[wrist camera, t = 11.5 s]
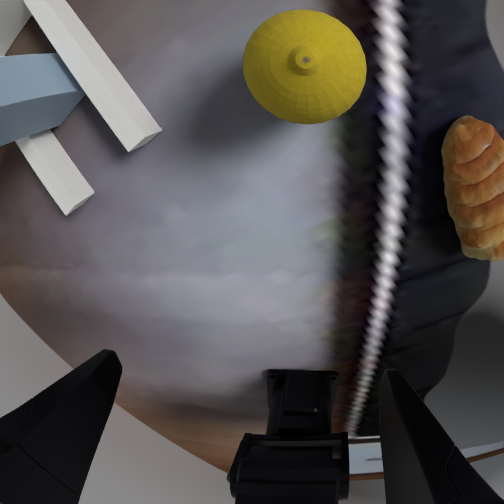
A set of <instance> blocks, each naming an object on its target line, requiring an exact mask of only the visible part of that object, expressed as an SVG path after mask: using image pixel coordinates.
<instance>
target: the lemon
mask: <svg viewBox="0 0 504 504" xmlns="http://www.w3.org/2000/svg"><path fill="white" fill-rule="evenodd" d="M366 71H367V69H366V61H365V55H364V52H363V50H362V47H361V45H360V43H359V41H358V39H357V38H356V37H355V36H354V34H353V33H352V32H351V30H350V29H349V28H347V27H346V26H345V25H344V24H342V23H341V22H340V21H339V20H337V19H335V18H333V17H331V16H329V15H327V14H325V13H322V12H317V11H312V10H290V11H287V12H283V13H279V14H277V15H275V16H273V17H271V18H270V19H268V20H266V21H264V22H263V23H262V24H261V25H260V26H259V27H258V28H257V29H256V30H255V31H254V32H253V34H252V36H251V38H250V39H249V41H248V43H247V44H246V48H245V52H244V57H243V73H244V76H245V80H246V83H247V86H248V88H249V90H250V92H251V93H252V95H253V97H254V98H255V100H256V101H257V102H258V103H259V104H260V105H261V106H262V107H263V108H264V109H266V110H267V111H268V112H270V113H272V114H273V115H275V116H277V117H278V118H280V119H283V120H286V121H289V122H292V123H300V124H315V123H323V122H326V121H329V120H331V119H334V118H336V117H338V116H340V115H341V114H343V113H344V112H345V111H347V110H348V109H350V107H351V106H352V105H353V104H354V103H355V101H356V100H357V99H358V98H359V96H360V94H361V91H362V89H363V87H364V85H365V78H366Z"/></svg>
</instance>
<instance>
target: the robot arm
mask: <svg viewBox="0 0 504 504" xmlns="http://www.w3.org/2000/svg"><path fill="white" fill-rule="evenodd" d="M121 374H122V365H121V363H120V361H119V358H118V356H117V354H116V352H115V351H113V350H108V349H104V350H102V351H100V352H99V353H97V354H96V355H94V356H93V357H91V358H90V359H89V360H87V361H86V362H84V363H83V364H81V365H80V366H78V367H77V368H75V369H74V370H72V371H71V372H70V373H68V374H67V375H65V376H64V377H62V378H61V379H59V380H58V381H56V382H55V383H54V384H52V385H51V386H49V387H48V388H46V389H45V390H43V391H42V392H40V393H39V394H37V395H36V396H34V398H31V399H30V400H29V401H27V402H26V403H24V404H23V405H21V406H20V407H18V408H16V409H15V410H13V411H12V412H10V413H8V414H6V415H5V416H3V417H1V418H0V504H78V502H79V499H80V495H81V492H82V489H83V486H84V484H85V481H86V478H87V475H88V472H89V469H90V466H91V463H92V460H93V458H94V455H95V452H96V449H97V446H98V444H99V441H100V438H101V435H102V433H103V430H104V428H105V425H106V422H107V419H108V417H109V414H110V412H111V409H112V406H113V403H114V399H115V396H116V392H117V388H118V385H119V381H120V378H121ZM338 380H339V374H338V373H337V372H321V371H285V370H269V371H268V372H267V388H268V406H269V417H268V423H267V430H266V435H262V434H252V433H245V435H244V437H243V440H241V443H240V445H239V448H238V450H237V453H236V456H235V458H234V461H233V464H232V466H231V469H230V471H229V473H228V475H227V481H228V482H229V483H230V491H231V495H232V497H233V498H235V504H338V501H347V499H348V492H349V447H348V432H341V433H335V434H331V412H332V409H333V404H334V400H335V395H336V390H337V385H338ZM379 417H380V442H381V450H382V460H383V470H384V481H385V494H386V504H504V500H503V499H502V498H501V497H500V496H498V495H497V494H496V493H495V491H494V490H493V489H492V488H491V487H490V486H489V485H488V484H487V483H486V481H485V480H484V479H483V478H482V477H481V476H480V475H479V474H478V473H477V472H476V470H475V469H474V468H473V467H472V466H471V465H470V463H469V462H468V461H467V460H466V458H465V457H464V456H463V454H462V453H461V452H460V450H459V449H458V448H457V446H454V445H455V444H454V442H453V441H452V440H451V438H450V437H449V436H448V434H447V433H446V431H445V430H444V429H443V427H442V426H441V425H440V423H439V422H438V421H437V419H436V418H435V417H434V415H433V414H432V413H431V411H430V410H429V409H428V407H427V406H426V405H425V403H424V402H423V401H422V399H421V398H420V397H419V396H418V394H417V393H416V392H415V390H414V389H413V388H412V386H411V385H410V384H409V383H408V381H407V380H406V379H405V377H404V376H403V375H402V374H401V372H400V371H399V370H398V369H387V370H385V372H384V374H383V377H382V380H381V383H380V387H379Z"/></svg>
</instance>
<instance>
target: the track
mask: <svg viewBox="0 0 504 504" xmlns="http://www.w3.org/2000/svg"><path fill="white" fill-rule="evenodd" d="M32 15H33V16H34V18H35V19H36V21H37V22H38V24H39V26H40V27H41V29H42V30H43V32H44V33H45V35H46V36H47V38H48V39H49V41H50V42H51V44H52V45H53V47H54V48H55V50H56V51H57V52H58V54H59V55H60V57H61V58H62V60H63V61H64V63H65V64H66V66H67V67H68V69H69V70H70V71H71V73H72V74H73V76H74V77H75V79H76V80H77V81H78V83H79V84H80V86H81V87H82V89H83V90H84V91H85V93H86V94H87V96H88V97H89V99H90V100H91V101H92V103H93V104H94V106H95V107H96V108H97V110H98V111H99V113H100V114H101V115H102V117H103V118H104V119H105V121H106V122H107V124H108V125H109V126H110V128H111V129H112V130H113V132H114V133H115V135H116V136H117V137H118V139H119V140H120V141H121V143H122V144H123V145H124V147H125V148H126V150H127V151H128V152H130V151H132V150H134V149H136V148H139V147H141V146H143V145H145V144H147V143H148V142H149V141H151V140H152V139H153V138H154V137H155V136H156V135H158V134H159V133H160V132H161V131H162V129H161V127H160V126H159V125H158V123H157V122H156V121H155V119H154V118H153V117H152V115H151V114H150V113H149V111H148V110H147V109H146V107H145V106H144V105H143V103H142V102H141V101H140V99H139V98H138V97H137V95H136V94H135V93H134V91H133V90H132V89H131V87H130V86H129V85H128V83H127V82H126V81H125V79H124V78H123V77H122V75H121V74H120V73H119V71H118V70H117V69H116V67H115V66H114V65H113V63H112V62H111V61H110V59H109V58H108V57H107V55H106V54H105V53H104V51H103V50H102V49H101V47H100V46H99V45H98V43H97V42H96V41H95V39H94V38H93V37H92V35H91V34H90V33H89V31H88V30H87V28H86V27H85V26H84V24H83V23H82V22H81V20H80V19H79V18H78V16H77V15H76V14H75V12H74V11H73V10H72V8H71V7H70V6H69V4H68V3H67V2H66V0H0V57H5V54H6V52H7V51H8V49H9V48H10V46H11V45H12V43H13V42H14V40H15V38H16V37H17V36H18V34H19V33H20V31H21V30H22V28H23V27H24V25H25V24H26V23H27V21H28V20H29V19H30V17H31V16H32ZM15 142H16V143H17V145H18V146H19V148H20V150H21V151H22V153H23V154H24V156H25V158H26V159H27V161H28V162H29V164H30V165H31V167H32V168H33V170H34V171H35V173H36V174H37V176H38V177H39V179H40V180H41V182H42V183H43V185H44V186H45V187H46V189H47V190H48V192H49V193H50V195H51V196H52V197H53V199H54V200H55V202H56V203H57V204H58V206H59V207H60V208H61V210H62V211H63V212H64V214H65V215H66V216H67V215H68V214H69V213H71V212H72V211H74V210H75V209H77V208H78V207H79V206H81V205H82V204H84V203H85V202H86V201H87V200H88V199H89V198H90V197H91V196H92V195H93V194H94V193H95V192H94V191H93V189H92V188H91V187H90V185H89V184H88V183H87V181H86V180H85V178H84V177H83V176H82V174H81V173H80V172H79V170H78V169H77V167H76V166H75V165H74V163H73V162H72V160H71V159H70V157H69V156H68V155H67V153H66V152H65V150H64V149H63V147H62V146H61V144H60V143H59V142H58V140H57V139H56V137H55V136H54V134H53V133H52V131H51V130H50V129H47V130H44V131H41V132H38V133H35V134H32V135H30V136H27V137H24V138H21V139H18V140H16V141H15Z"/></svg>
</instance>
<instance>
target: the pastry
mask: <svg viewBox="0 0 504 504" xmlns="http://www.w3.org/2000/svg"><path fill="white" fill-rule="evenodd" d="M441 153H442V157H443V166H444V175H443V180H444V183H445V190H444V194H445V197H446V199H447V208H448V212H449V215H450V216H451V217H452V219H453V220H454V224H455V228H456V231H457V234H458V236H459V238H460V240H461V248H462V251H463V253H464V255H466V256H467V257H470V258H477V259H479V260H485V259H488V260H490V261H500V260H503V259H504V141H503V140H502V139H501V137H500V136H499V135H498V133H497V132H496V131H495V129H494V127H493V126H492V125H491V124H488V123H486V122H484V121H481V120H477V119H475V118H474V117H472V116H463V117H461V118H459V119H457V120H456V121H455V122H453V124H452V125H451V126H450V128H449V130H448V131H447V133H446V136H445V138H444V141H443V145H442V148H441Z"/></svg>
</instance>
